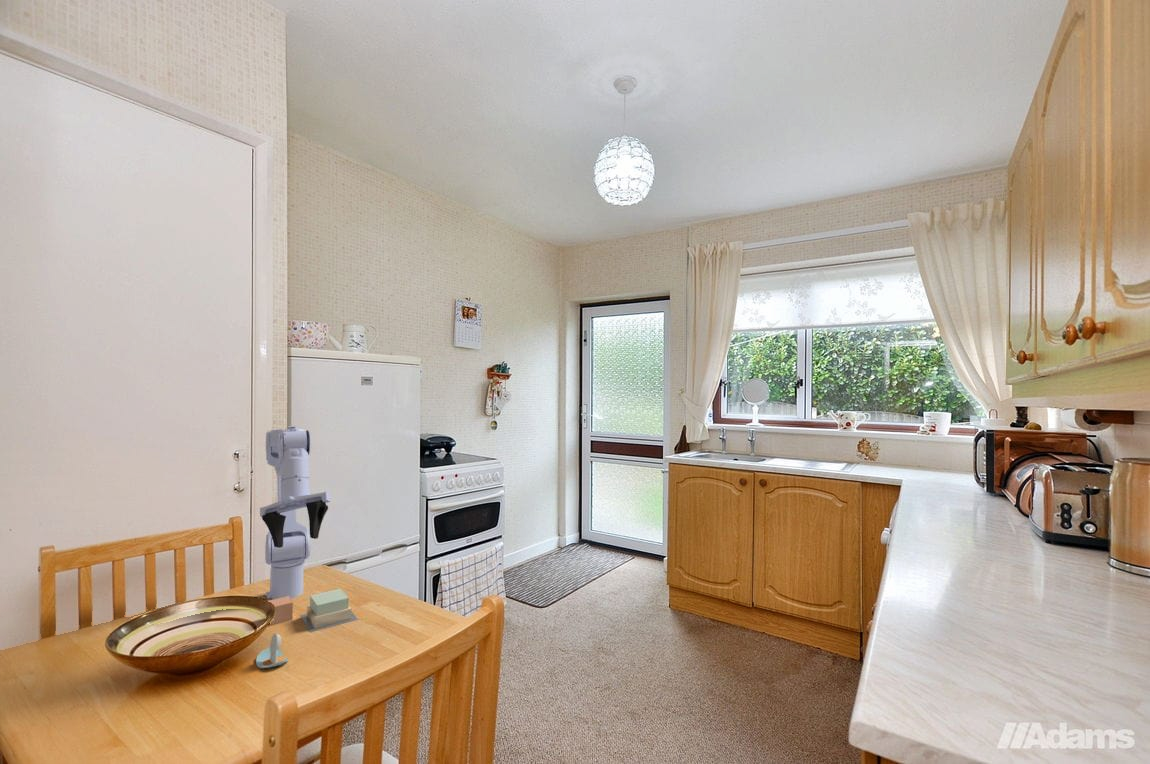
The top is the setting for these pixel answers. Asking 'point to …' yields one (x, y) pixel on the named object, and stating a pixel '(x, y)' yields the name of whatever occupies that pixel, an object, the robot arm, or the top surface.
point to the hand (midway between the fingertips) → (296, 542)
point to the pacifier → (271, 653)
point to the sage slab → (329, 602)
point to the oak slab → (328, 617)
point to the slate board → (312, 629)
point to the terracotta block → (282, 609)
